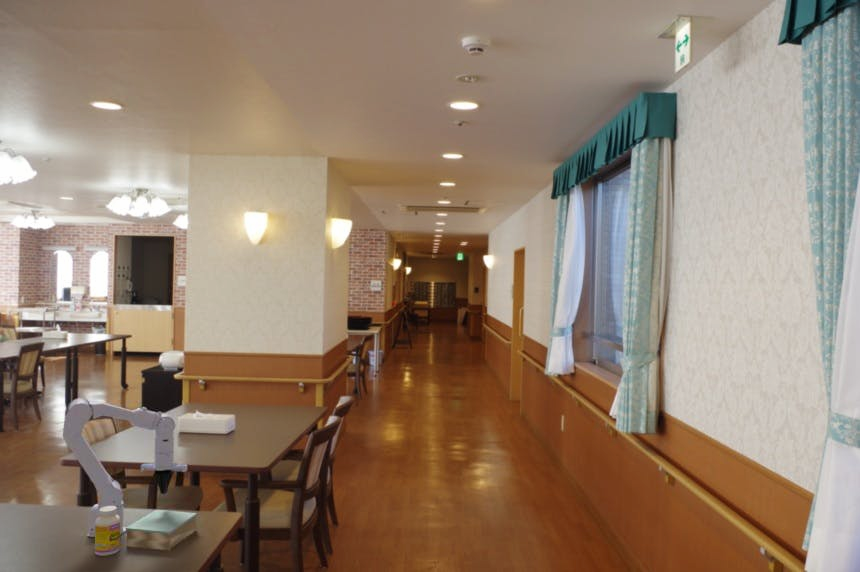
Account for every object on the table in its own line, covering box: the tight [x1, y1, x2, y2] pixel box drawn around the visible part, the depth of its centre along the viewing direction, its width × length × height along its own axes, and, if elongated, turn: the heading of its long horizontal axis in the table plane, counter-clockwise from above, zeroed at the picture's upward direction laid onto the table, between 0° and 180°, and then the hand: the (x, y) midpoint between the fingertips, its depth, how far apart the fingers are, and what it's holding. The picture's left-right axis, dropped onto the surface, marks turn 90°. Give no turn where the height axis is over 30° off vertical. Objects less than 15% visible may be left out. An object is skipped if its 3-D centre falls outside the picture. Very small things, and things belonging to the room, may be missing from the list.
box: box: [126, 515, 197, 551], centre depth 198 cm, size 14×15×5 cm
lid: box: [125, 509, 198, 534], centre depth 198 cm, size 14×15×1 cm
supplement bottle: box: [94, 506, 121, 557], centre depth 188 cm, size 7×7×13 cm
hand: (163, 492), depth 209 cm, fingers closed
